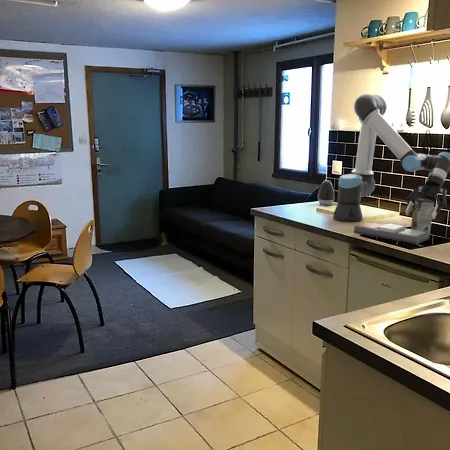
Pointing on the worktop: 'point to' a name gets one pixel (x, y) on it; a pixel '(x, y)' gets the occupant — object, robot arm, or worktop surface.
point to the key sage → (411, 232)
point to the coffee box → (422, 214)
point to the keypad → (392, 235)
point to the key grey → (391, 228)
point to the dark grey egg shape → (326, 193)
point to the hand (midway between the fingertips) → (419, 215)
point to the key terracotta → (370, 225)
